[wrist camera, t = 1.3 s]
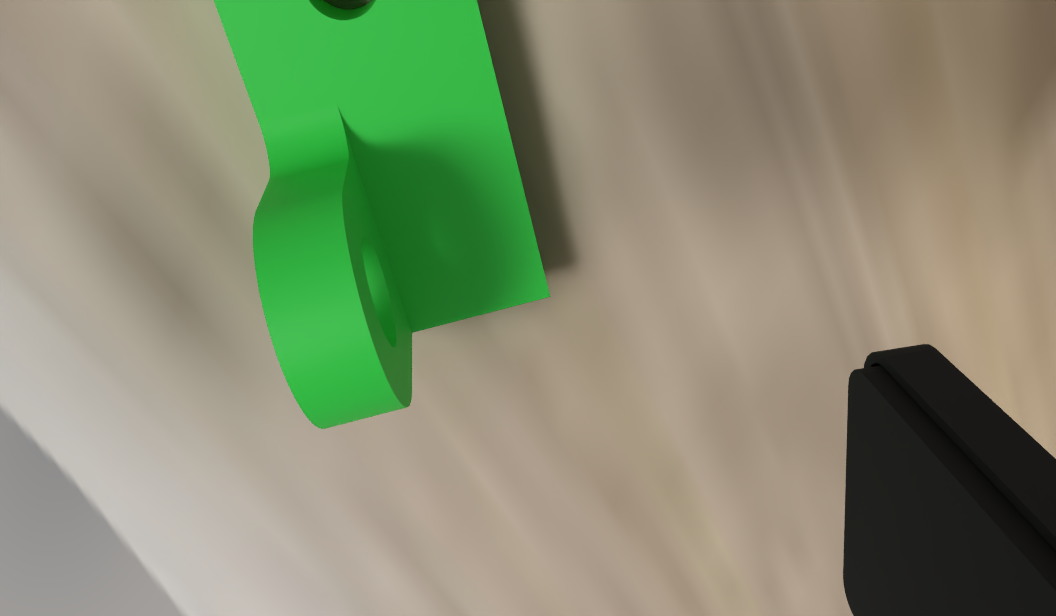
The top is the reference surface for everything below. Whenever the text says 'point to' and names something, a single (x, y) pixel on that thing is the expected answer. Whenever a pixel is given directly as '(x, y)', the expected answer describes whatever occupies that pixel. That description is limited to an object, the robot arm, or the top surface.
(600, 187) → the top surface
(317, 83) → the mechanical part
